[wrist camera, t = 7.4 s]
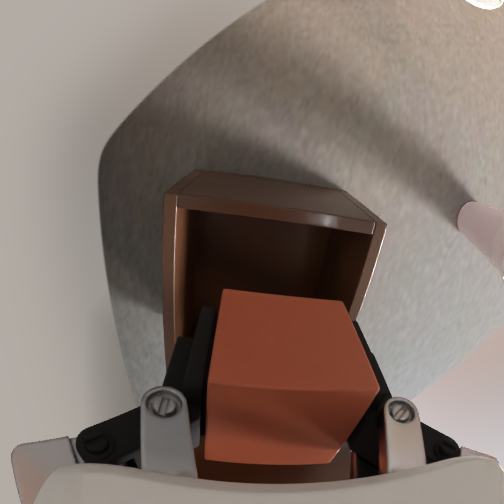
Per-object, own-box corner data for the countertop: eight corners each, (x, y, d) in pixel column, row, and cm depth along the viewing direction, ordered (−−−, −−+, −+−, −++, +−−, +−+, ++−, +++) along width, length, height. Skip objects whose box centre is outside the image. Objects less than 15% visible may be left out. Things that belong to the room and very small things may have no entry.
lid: (84, 547, 5) (110, 590, 5) (414, 551, 5) (368, 597, 5) (166, 388, 21) (165, 440, 21) (322, 403, 22) (309, 452, 22)
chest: (194, 169, 23) (163, 192, 15) (345, 190, 24) (388, 224, 16) (186, 324, 30) (167, 388, 22) (307, 338, 30) (320, 403, 22)
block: (223, 287, 11) (207, 381, 7) (342, 300, 11) (381, 388, 7) (215, 373, 12) (204, 460, 8) (313, 381, 13) (329, 463, 8)
